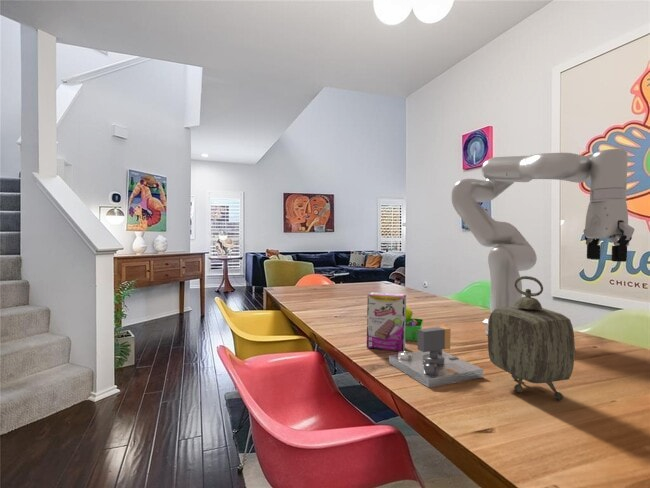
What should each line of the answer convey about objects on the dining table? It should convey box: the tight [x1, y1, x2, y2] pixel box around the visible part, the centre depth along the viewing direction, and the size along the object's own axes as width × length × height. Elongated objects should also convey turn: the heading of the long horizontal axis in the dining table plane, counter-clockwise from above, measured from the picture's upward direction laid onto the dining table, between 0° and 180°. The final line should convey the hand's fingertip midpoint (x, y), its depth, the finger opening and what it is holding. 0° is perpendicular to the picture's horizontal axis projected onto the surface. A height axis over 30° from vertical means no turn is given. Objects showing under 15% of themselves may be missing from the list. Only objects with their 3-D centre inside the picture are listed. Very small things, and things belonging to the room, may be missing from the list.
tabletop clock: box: [487, 275, 576, 401], centre depth 73 cm, size 14×9×25 cm, turn 17°
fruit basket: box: [405, 306, 424, 342], centre depth 114 cm, size 11×9×11 cm
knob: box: [417, 325, 451, 365], centre depth 84 cm, size 5×8×8 cm, turn 112°
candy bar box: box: [366, 291, 407, 352], centre depth 101 cm, size 11×5×16 cm, turn 71°
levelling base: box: [388, 350, 484, 389], centre depth 84 cm, size 16×16×4 cm
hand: (605, 260), depth 90 cm, fingers open, 9 cm apart
